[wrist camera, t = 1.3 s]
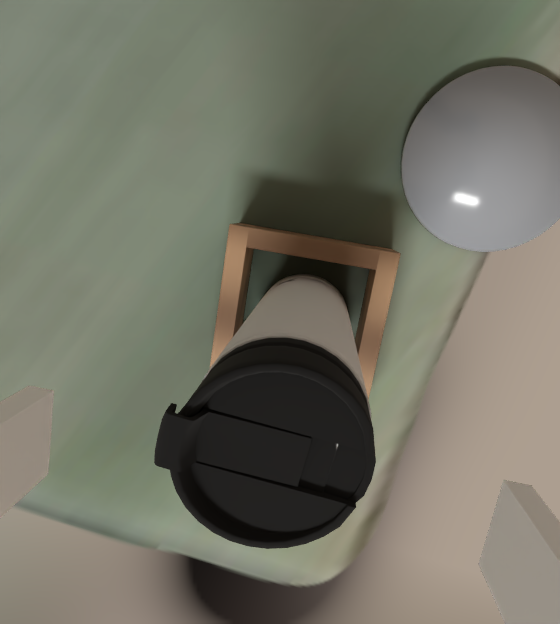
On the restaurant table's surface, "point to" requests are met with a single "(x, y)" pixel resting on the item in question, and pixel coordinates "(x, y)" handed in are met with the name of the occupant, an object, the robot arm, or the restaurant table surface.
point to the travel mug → (276, 424)
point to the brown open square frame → (313, 247)
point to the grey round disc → (486, 159)
